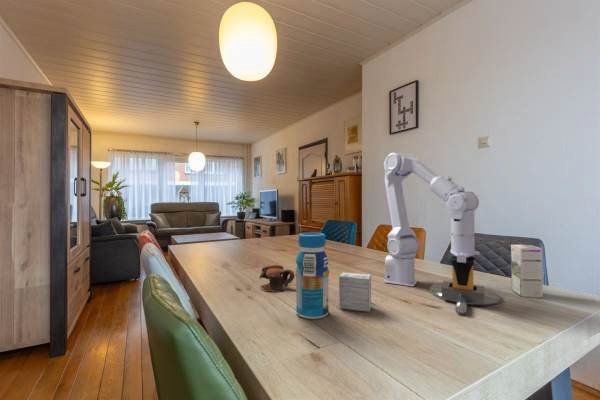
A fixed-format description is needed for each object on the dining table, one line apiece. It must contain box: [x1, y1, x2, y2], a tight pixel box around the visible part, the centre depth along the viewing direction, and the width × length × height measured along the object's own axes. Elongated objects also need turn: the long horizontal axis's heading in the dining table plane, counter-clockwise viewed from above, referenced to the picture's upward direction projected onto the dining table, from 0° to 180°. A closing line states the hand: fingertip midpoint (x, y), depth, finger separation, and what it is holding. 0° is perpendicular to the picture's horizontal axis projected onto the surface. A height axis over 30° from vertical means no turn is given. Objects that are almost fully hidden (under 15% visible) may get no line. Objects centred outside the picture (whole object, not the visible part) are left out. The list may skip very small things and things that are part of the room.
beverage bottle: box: [294, 232, 330, 320], centre depth 72 cm, size 8×8×20 cm
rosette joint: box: [429, 280, 501, 316], centre depth 82 cm, size 18×26×6 cm
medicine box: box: [338, 272, 372, 313], centre depth 76 cm, size 8×4×9 cm, turn 71°
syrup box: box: [510, 244, 544, 299], centre depth 86 cm, size 6×6×14 cm
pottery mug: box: [259, 264, 296, 292], centre depth 94 cm, size 12×10×8 cm
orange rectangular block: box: [452, 265, 474, 290], centre depth 80 cm, size 5×3×8 cm, turn 59°
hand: (462, 283), depth 80 cm, fingers closed on orange rectangular block, 3 cm apart
